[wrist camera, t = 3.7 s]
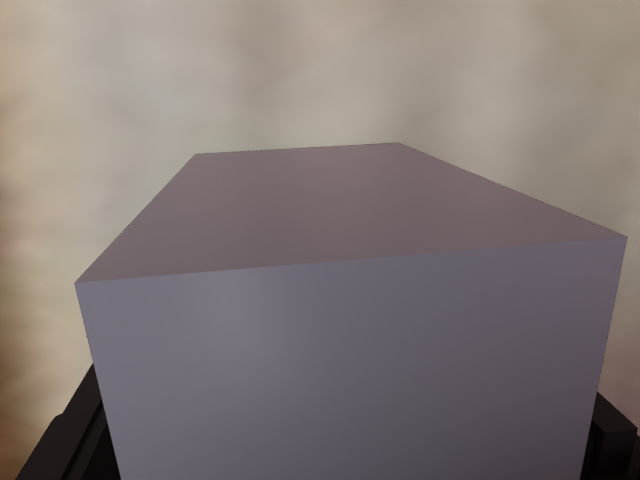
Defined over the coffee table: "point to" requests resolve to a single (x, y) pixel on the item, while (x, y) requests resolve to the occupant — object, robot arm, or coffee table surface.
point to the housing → (349, 322)
